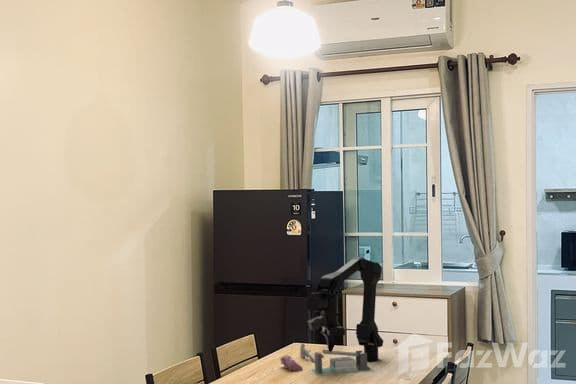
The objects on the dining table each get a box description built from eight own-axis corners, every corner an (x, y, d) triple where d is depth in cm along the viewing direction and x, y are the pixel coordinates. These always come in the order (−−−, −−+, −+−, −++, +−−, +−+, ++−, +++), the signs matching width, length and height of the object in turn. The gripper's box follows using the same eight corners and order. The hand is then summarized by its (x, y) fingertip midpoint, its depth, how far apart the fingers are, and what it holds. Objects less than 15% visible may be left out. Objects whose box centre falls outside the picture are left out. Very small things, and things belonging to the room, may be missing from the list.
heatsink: (329, 368, 258) (329, 357, 258) (349, 366, 260) (349, 356, 260) (336, 373, 250) (335, 362, 250) (356, 371, 252) (356, 360, 252)
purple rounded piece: (284, 372, 264) (276, 357, 263) (293, 365, 265) (285, 350, 264) (294, 377, 255) (286, 361, 254) (304, 370, 256) (296, 355, 255)
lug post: (315, 371, 254) (314, 352, 255) (321, 370, 255) (320, 351, 255) (318, 373, 250) (317, 354, 251) (324, 372, 251) (323, 354, 251)
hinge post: (353, 366, 260) (353, 350, 260) (363, 365, 261) (362, 350, 261) (359, 370, 253) (359, 354, 253) (369, 369, 254) (369, 353, 254)
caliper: (300, 358, 282) (299, 343, 282) (302, 357, 282) (302, 342, 282) (320, 368, 263) (319, 351, 263) (323, 367, 263) (322, 351, 263)
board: (310, 371, 257) (310, 369, 257) (364, 366, 262) (364, 364, 262) (317, 377, 247) (317, 375, 247) (373, 371, 253) (373, 370, 253)
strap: (322, 353, 255) (322, 348, 255) (361, 356, 259) (362, 352, 259) (324, 354, 252) (325, 350, 252) (364, 357, 255) (364, 353, 256)
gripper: (303, 307, 262) (303, 347, 261) (316, 313, 244) (316, 356, 243) (330, 306, 264) (330, 346, 264) (345, 312, 246) (346, 355, 246)
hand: (330, 351), depth 254 cm, fingers closed, pressing on strap
